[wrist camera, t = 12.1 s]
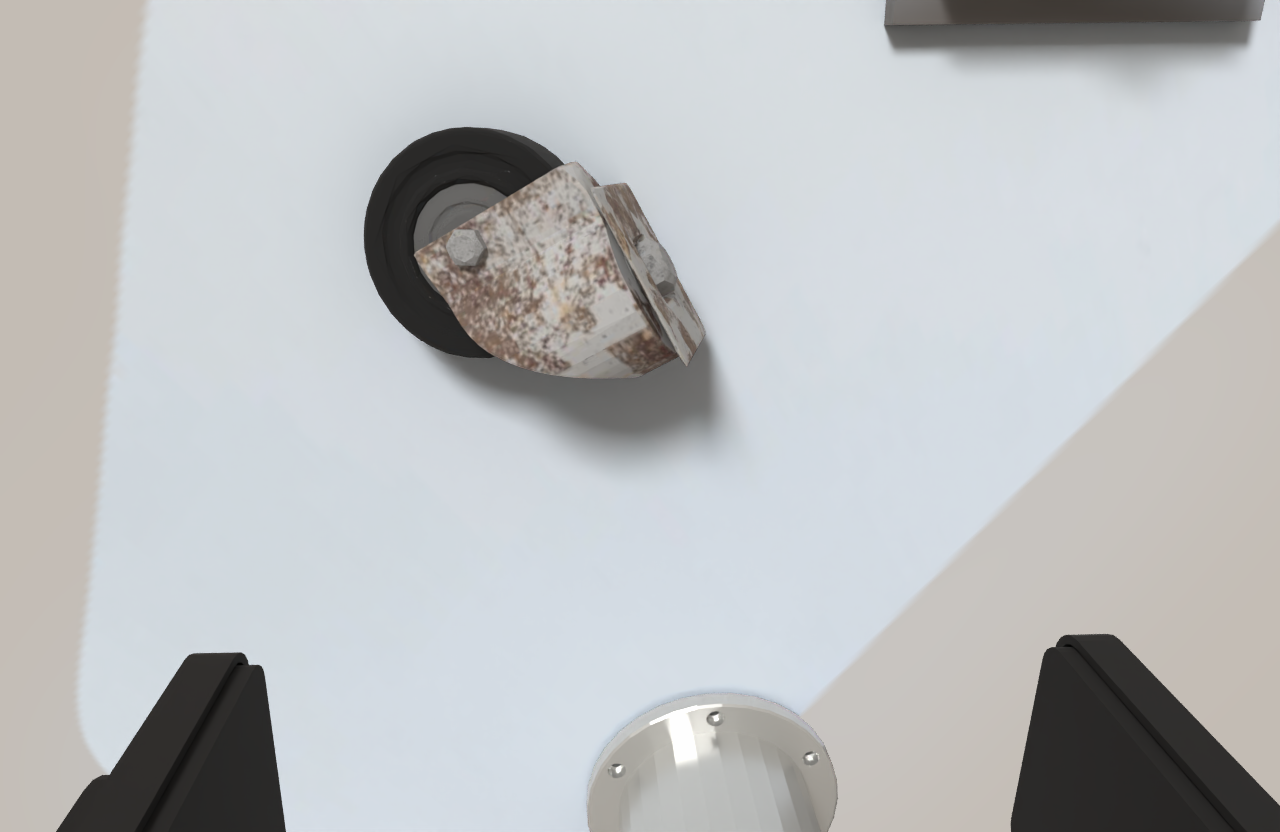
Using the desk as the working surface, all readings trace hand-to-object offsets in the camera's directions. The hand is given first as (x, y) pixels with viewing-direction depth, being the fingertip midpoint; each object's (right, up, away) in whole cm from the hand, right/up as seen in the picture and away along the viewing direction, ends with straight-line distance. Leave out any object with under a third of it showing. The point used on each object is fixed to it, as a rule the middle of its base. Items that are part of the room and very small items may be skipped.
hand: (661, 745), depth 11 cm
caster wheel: (-5, +10, +27) cm, 29 cm away
